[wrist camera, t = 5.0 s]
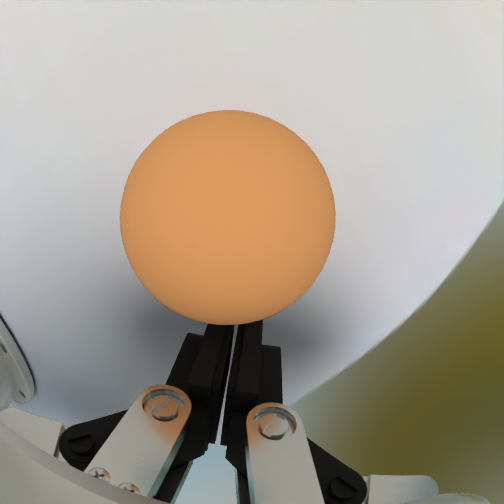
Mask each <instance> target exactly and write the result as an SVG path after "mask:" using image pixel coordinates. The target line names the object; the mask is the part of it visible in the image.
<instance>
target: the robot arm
mask: <svg viewBox="0 0 504 504" xmlns="http://www.w3.org/2000/svg"><path fill="white" fill-rule="evenodd" d="M262 325H263V319H262V320H259V321H255V322H251V323H246V324H239V325H238V331H237V336H236V342H235V348H234V353H233V359H232V364H231V370H230V376H229V381H228V387H227V394H226V402H225V410H224V418H223V426H222V435H221V443H220V444H221V445H225V446H227V450H226V457H225V458H226V459H227V460H228V461H229V462H230V463H231V464H232V465H233V466H234V467H235V482H236V494H237V504H490V503H489V502H488V501H487V500H486V499H485V498H483V497H481V496H478V495H473V494H466V493H452V494H442V495H439V490H438V486H437V483H436V482H435V481H434V480H433V479H432V478H430V477H428V476H423V475H419V476H418V475H417V476H389V475H370V476H369V477H362V476H361V475H359V474H358V473H357V472H356V471H354V470H352V469H351V468H349V467H348V466H346V465H345V464H343V463H342V462H340V461H339V460H338V459H336V458H335V457H333V456H332V455H330V454H329V453H327V452H326V451H324V450H323V449H322V448H321V447H319V446H318V445H316V444H315V443H314V442H312V441H311V440H310V439H308V438H307V437H306V434H305V431H304V427H303V423H302V420H301V418H300V416H299V415H298V414H297V413H296V412H295V410H293V409H292V408H290V407H288V406H286V405H283V399H282V368H281V348H280V347H276V346H268V345H262ZM233 333H234V325H216V324H208V325H207V328H206V330H205V333H204V336H203V335H197V334H192V333H188V334H187V335H186V337H185V340H184V342H183V344H182V347H181V349H180V352H179V354H178V356H177V359H176V361H175V363H174V366H173V368H172V370H171V373H170V375H169V378H168V380H167V382H166V385H156V386H151V387H149V388H147V389H145V390H144V391H143V392H142V393H141V394H140V395H139V396H138V397H137V399H136V400H135V401H134V403H133V404H132V406H131V407H130V408H129V409H128V410H125V411H122V412H119V413H115V414H112V415H109V416H106V417H102V418H99V419H95V420H92V421H88V422H84V423H80V424H76V425H73V426H71V427H65V426H64V425H63V423H60V422H57V421H53V420H50V419H46V418H43V417H40V416H37V415H34V414H31V413H28V412H25V411H22V410H19V409H17V408H7V407H8V406H9V404H10V403H11V402H12V401H13V400H14V401H17V402H20V403H27V402H28V401H29V400H30V399H31V397H32V396H33V394H34V383H33V378H32V376H31V373H30V370H29V368H28V366H27V364H26V362H25V359H24V357H23V355H22V354H21V352H20V350H19V348H18V346H17V344H16V343H15V341H14V339H13V338H12V336H11V334H10V333H9V331H8V329H7V328H6V326H5V325H4V323H3V322H2V320H1V318H0V504H174V503H175V501H176V499H177V497H178V495H179V492H180V490H181V488H182V486H183V484H184V482H185V479H186V477H187V475H188V473H189V470H190V468H191V466H192V464H193V460H194V459H196V458H198V457H200V456H202V455H204V453H205V451H207V449H208V444H209V443H212V444H215V441H216V436H217V431H218V425H219V420H220V414H221V409H222V404H223V398H224V393H225V387H226V382H227V377H228V371H229V365H230V357H231V349H232V341H233Z"/></svg>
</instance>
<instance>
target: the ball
mask: <svg viewBox="0 0 504 504" xmlns="http://www.w3.org/2000/svg"><path fill="white" fill-rule="evenodd" d="M120 228H121V235H122V241H123V245H124V248H125V251H126V255H127V257H128V259H129V262H130V264H131V266H132V268H133V270H134V272H135V273H136V275H137V277H138V278H139V280H140V281H141V282H142V284H143V285H144V286H145V287H146V289H147V290H148V291H149V292H150V293H151V294H152V295H153V296H154V297H155V298H156V299H157V300H159V301H160V302H161V303H162V304H164V305H165V306H167V307H168V308H170V309H171V310H173V311H174V312H176V313H178V314H181V315H183V316H185V317H187V318H190V319H193V320H196V321H199V322H204V323H208V324H216V325H238V324H246V323H251V322H255V321H259V320H262V319H264V318H267V317H270V316H272V315H274V314H276V313H278V312H280V311H282V310H283V309H285V308H286V307H288V306H289V305H290V304H292V303H293V302H295V301H296V300H297V299H298V298H299V297H300V296H301V295H302V294H304V293H305V292H306V291H307V290H308V288H309V287H310V286H311V285H312V284H313V282H314V281H315V280H316V278H317V277H318V275H319V273H320V272H321V270H322V268H323V266H324V264H325V262H326V260H327V257H328V255H329V252H330V249H331V245H332V242H333V238H334V231H335V204H334V197H333V193H332V189H331V186H330V182H329V179H328V177H327V175H326V172H325V170H324V168H323V166H322V164H321V163H320V161H319V159H318V158H317V156H316V155H315V153H314V152H313V151H312V150H311V149H310V147H309V146H308V145H307V144H306V143H305V142H304V141H303V140H302V139H301V138H300V137H299V136H298V135H296V134H295V133H294V132H293V131H291V130H290V129H288V128H287V127H285V126H284V125H282V124H280V123H278V122H276V121H274V120H272V119H270V118H268V117H265V116H261V115H258V114H255V113H250V112H245V111H235V110H222V111H213V112H207V113H203V114H199V115H195V116H192V117H189V118H187V119H185V120H182V121H180V122H178V123H176V124H175V125H173V126H171V127H170V128H168V129H166V130H165V131H164V132H163V133H161V134H160V135H159V136H158V137H157V138H155V139H154V140H153V142H152V143H151V144H150V145H149V146H148V147H147V148H146V149H145V150H144V151H143V153H142V154H141V155H140V157H139V158H138V160H137V161H136V163H135V164H134V166H133V168H132V170H131V172H130V174H129V176H128V179H127V182H126V185H125V188H124V192H123V197H122V202H121V210H120Z"/></svg>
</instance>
